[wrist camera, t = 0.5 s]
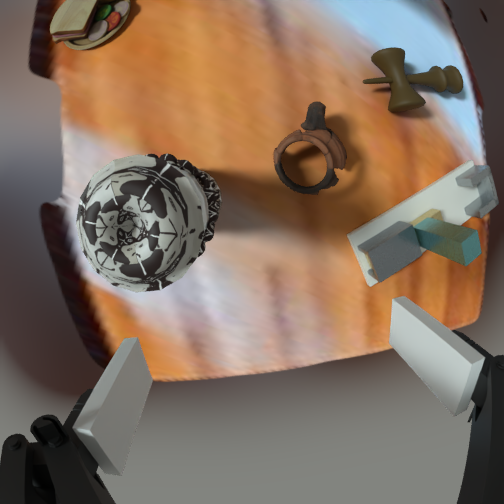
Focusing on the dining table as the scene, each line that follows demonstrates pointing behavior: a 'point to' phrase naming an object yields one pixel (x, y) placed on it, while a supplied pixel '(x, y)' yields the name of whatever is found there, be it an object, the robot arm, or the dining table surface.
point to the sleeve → (391, 250)
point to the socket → (479, 190)
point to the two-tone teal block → (445, 238)
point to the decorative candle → (147, 220)
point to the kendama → (411, 79)
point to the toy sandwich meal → (88, 22)
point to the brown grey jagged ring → (322, 140)
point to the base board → (419, 211)
